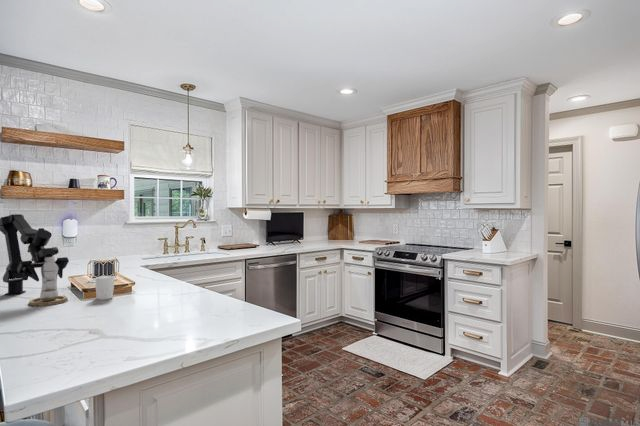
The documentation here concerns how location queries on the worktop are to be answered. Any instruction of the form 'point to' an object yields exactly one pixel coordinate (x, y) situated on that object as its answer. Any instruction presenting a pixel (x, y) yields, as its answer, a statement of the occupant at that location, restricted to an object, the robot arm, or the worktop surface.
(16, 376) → the worktop surface
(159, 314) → the worktop surface
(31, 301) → the brown round plate
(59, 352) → the worktop surface
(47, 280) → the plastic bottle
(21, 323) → the worktop surface
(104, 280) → the white cup
